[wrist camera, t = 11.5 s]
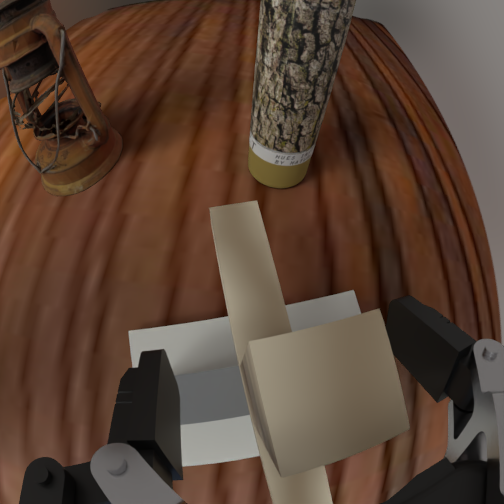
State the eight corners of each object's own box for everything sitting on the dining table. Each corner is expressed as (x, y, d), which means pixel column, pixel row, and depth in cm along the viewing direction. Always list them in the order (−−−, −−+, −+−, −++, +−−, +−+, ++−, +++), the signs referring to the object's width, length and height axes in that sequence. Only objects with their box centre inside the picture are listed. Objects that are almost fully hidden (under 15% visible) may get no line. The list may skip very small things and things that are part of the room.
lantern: (152, 136, 34) (118, -84, 7) (93, 213, 28) (-16, -42, 2) (73, 121, 36) (24, -37, 9) (21, 180, 30) (-64, 18, 3)
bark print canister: (312, 160, 33) (368, -39, 11) (295, 200, 31) (362, -42, 8) (260, 142, 34) (284, -57, 12) (237, 178, 31) (250, -60, 9)
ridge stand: (157, 463, 18) (126, 492, 11) (134, 334, 23) (95, 311, 16) (379, 413, 21) (430, 418, 14) (347, 294, 26) (386, 260, 19)
